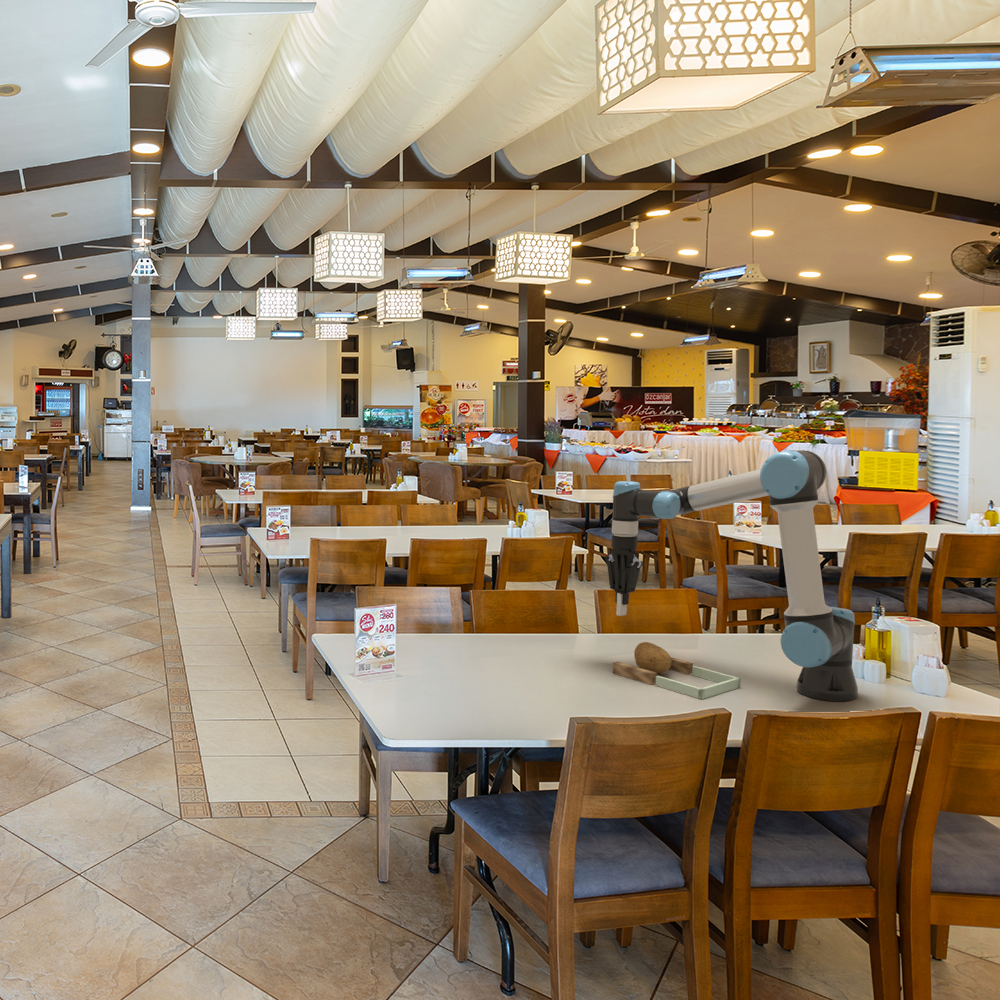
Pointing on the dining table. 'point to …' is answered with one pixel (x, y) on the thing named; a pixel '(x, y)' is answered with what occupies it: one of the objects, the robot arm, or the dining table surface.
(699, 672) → the frame
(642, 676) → the channel
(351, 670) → the dining table surface
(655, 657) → the potato
